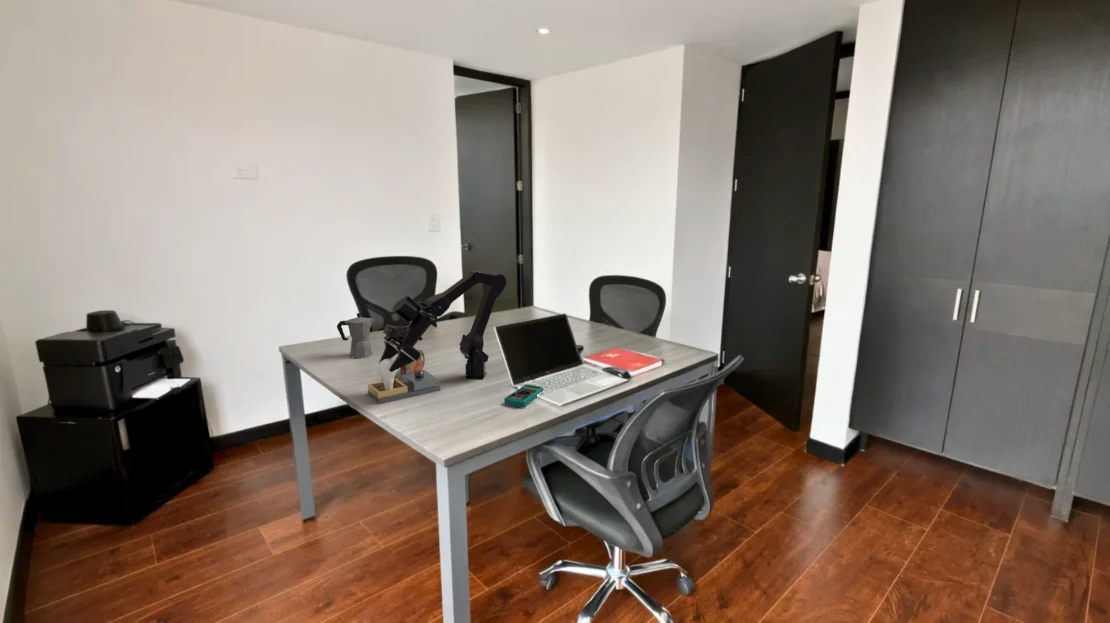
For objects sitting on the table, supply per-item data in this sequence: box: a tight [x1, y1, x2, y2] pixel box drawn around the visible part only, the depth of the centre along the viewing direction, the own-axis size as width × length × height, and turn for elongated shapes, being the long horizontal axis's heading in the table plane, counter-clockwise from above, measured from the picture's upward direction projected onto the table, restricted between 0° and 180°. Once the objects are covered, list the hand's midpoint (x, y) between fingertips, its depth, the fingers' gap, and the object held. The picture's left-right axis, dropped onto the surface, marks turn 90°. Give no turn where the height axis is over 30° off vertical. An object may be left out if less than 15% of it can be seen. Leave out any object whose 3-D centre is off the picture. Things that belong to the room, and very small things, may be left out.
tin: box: [399, 349, 426, 376], centre depth 188 cm, size 15×3×8 cm, turn 168°
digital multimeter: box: [504, 383, 545, 408], centre depth 166 cm, size 7×15×3 cm, turn 155°
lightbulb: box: [377, 358, 398, 390], centre depth 166 cm, size 6×6×11 cm
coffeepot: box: [336, 312, 376, 359], centre depth 208 cm, size 15×9×18 cm, turn 129°
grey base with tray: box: [367, 369, 441, 405], centre depth 170 cm, size 21×11×6 cm, turn 128°
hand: (385, 367), depth 165 cm, fingers open, 9 cm apart
